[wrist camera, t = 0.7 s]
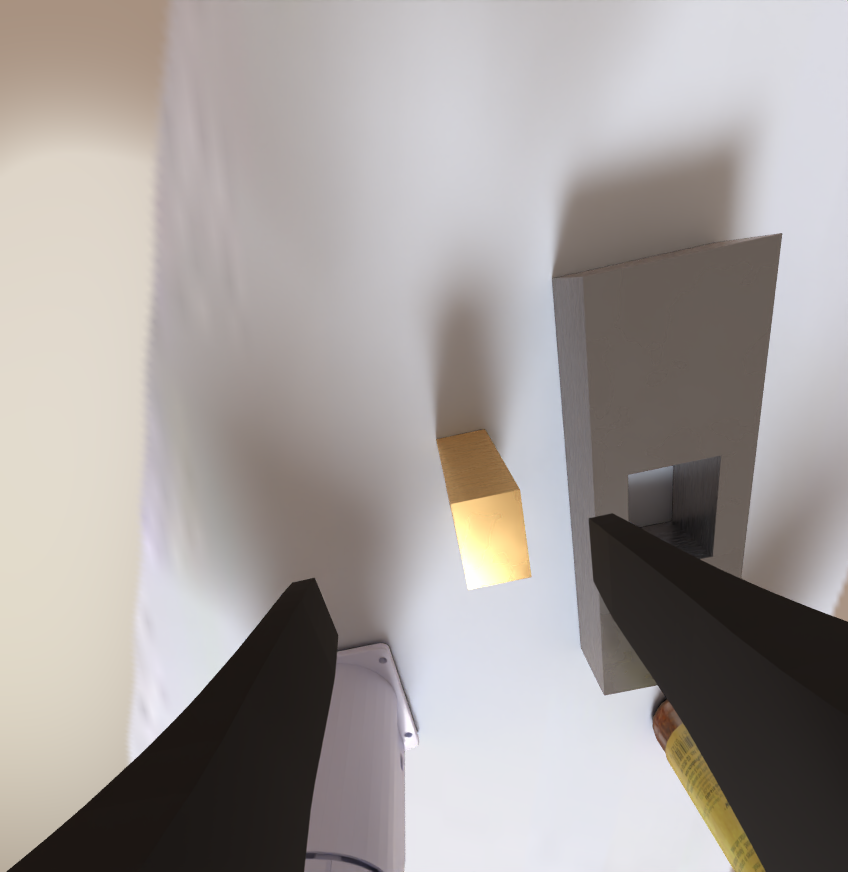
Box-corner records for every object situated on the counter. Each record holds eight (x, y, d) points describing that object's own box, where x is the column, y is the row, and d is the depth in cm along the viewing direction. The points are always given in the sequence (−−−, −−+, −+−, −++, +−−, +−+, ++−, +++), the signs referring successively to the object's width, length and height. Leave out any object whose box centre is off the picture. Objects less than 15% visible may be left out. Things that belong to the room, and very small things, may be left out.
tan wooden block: (495, 496, 20) (531, 576, 15) (450, 505, 20) (468, 589, 15) (484, 429, 19) (520, 489, 13) (436, 439, 19) (450, 504, 13)
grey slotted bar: (691, 626, 24) (729, 671, 21) (580, 648, 24) (604, 695, 22) (717, 242, 16) (782, 233, 13) (552, 278, 16) (582, 277, 14)
